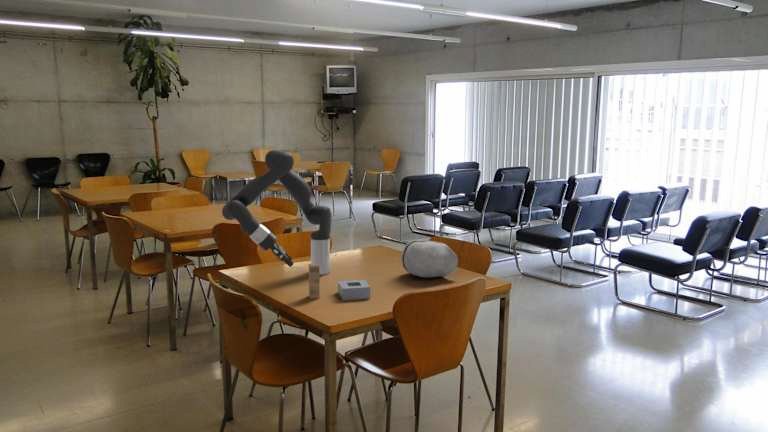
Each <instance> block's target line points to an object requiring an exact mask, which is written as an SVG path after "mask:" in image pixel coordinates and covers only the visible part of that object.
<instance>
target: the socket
mask: <svg viewBox="0 0 768 432" xmlns="http://www.w3.org/2000/svg"><path fill="white" fill-rule="evenodd" d="M337 293H338V295H339V296H340V298H341V301H353V300H368V299H369V300H370V299H371V286H370V285H369V284H368V282H367V281H366V279H354V280H353V279H351V280H337Z"/></svg>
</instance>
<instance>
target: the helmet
mask: <svg viewBox="0 0 768 432" xmlns="http://www.w3.org/2000/svg"><path fill="white" fill-rule="evenodd" d="M458 263H459V258H458V255H457V254H456V253H455V252H454V251H453V249H451V247H450V246H448V245H447V244H445V242H440V241H435V240H428V239H415V240H410V241H409V242H408V243H407V244H406V245H405V246H404V248H403V250H402V253H401V264H402V268H403V269H404V270H405V272H407V273H408V274H411V275H413V276H415V277H416V276H417V277H421V278H425V279H426V278H435V277H439V278H440V277H441V278H443V277H444V278H445V277H448V276H450V275H452V274H453V273H455V272H456V271H457V269H458Z"/></svg>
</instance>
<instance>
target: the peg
mask: <svg viewBox="0 0 768 432" xmlns="http://www.w3.org/2000/svg"><path fill="white" fill-rule="evenodd" d="M308 297H309V299H321V298H320V297H321V296H320V275H319V264H311V263H309V264H308Z"/></svg>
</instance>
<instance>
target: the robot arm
mask: <svg viewBox="0 0 768 432" xmlns="http://www.w3.org/2000/svg"><path fill="white" fill-rule="evenodd" d="M264 162H265V165H266V167H267V169H268V171H267V172H265V173H263V174H261V175H259V176H257V177H255V178H253V179H251V180H250V181H248V182H247V183H246V184H245V185H244V186H243V187H242V188H241V189H240V190H239V191H238V192H237V194H236V195H235V196H233V197H232V198H231V199H230V200H229V201H227V202H226V203H225V204H224V205H223V207H222V209H221V214H222V217H224V219H226V220H228V221H234V220H236V221H237V222H238V223H239V228H240V229H241V230H242V231H243V233H244V234H246V235H247V236H249V238H250V239H251V240H252V241H253V242H254V243H255V244H256V245H257V246H258V247H259V248H261V249H262V250H263V252H267V251H268V250H271V253H272V254H273V255H275V256H276V258H278V259H279V260H280V261H281V262H284V263H285V264H286V265H287V266H288V267H289V268H291V267H292V266H293V265H294V264H295V263H294V262H293V261H292V260H293V259H292V257H291V256H290V255H289V253H287V252H286V250H285V249H284V248H283V247H282V246H281V245H280V244H279V243H277V240H278V237H277V236H276V235H275V234H273V232H272V231H270V230H269V228H268V227H266V226H264V225H263V224H262V223H261V222H260V221H259V220H258V219H257V218H256V217H254V216H253V214H252V213H251V212H250V210H249V209H248V208H247V207H248V206H250V205H252V203H254V201H256V200H257V199H258V197H260V196H261V194H262V193H264V192H265V191H266V189H268V188H269V187H270V186H272V185H273V184H275V183H276V182H277V181H278V180H279V182H280V183H281V185H282V186H283V187H284V188H285V189H286V191H287V192H288V194H289V195H290V197H292V199H293V200H294V201H295V203H296V204H297V206H299V208H300V210H301V211H302V213H303V215H304V216H305V218H306V220H307V221H308V222H309V223H310V224H312V225H317V226H319V227H318V230H315V231H312V232H311V233H310V264H319V276H320V275H321V276H322V275H328V274H331V271H330V270H331V265H330V264H331V260H330V259H331V255H330V254H331V251H330V250H331V246H330V245H331V242H330V241H331V232H332V211H331V208H330V207H328V206H326V205H325V206H324V205H315V204H314V203H313V202H312V200H311V198H312V189H311V187H310V185H308V182H307V181H306V180H305V179H304V178H303V177H302V176H301V175H299V174H297V173H296V171H294V170H292V169H293V168H294V164H295V163H294V162H295V160H294V157H293V155H292V154H290V153H289V152H285V151H281V150H275V149H274V150H273V149H272V150H269V151H268V152H266V155H265V158H264Z"/></svg>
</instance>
